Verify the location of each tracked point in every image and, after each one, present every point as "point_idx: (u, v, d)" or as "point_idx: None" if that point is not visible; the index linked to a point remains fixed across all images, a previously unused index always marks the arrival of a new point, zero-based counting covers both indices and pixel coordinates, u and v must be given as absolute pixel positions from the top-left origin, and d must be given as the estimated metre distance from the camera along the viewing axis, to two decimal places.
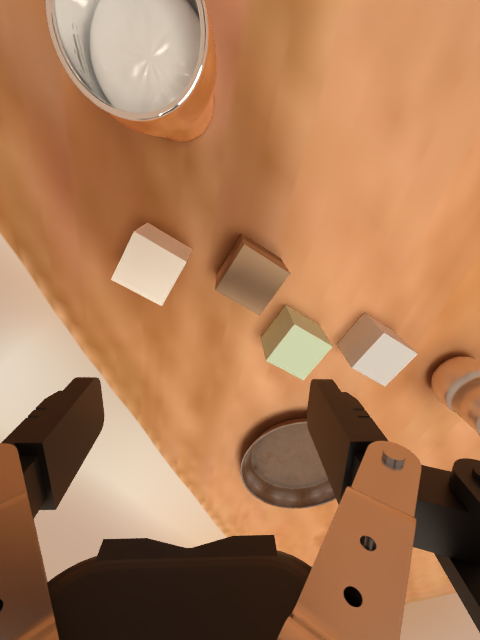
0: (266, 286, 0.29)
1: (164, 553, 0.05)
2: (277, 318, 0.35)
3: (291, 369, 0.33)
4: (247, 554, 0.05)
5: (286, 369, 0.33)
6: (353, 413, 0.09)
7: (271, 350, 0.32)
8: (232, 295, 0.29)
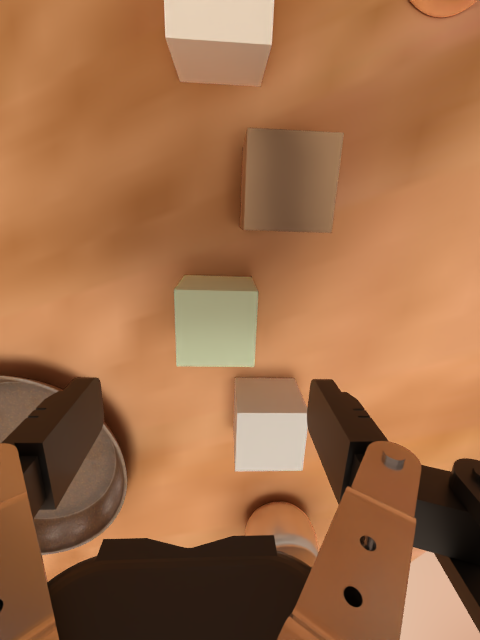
0: (295, 210, 0.17)
1: (164, 553, 0.05)
2: (228, 277, 0.22)
3: (183, 336, 0.19)
4: (247, 554, 0.05)
5: (178, 330, 0.19)
6: (353, 413, 0.09)
7: (193, 288, 0.19)
8: (255, 163, 0.16)
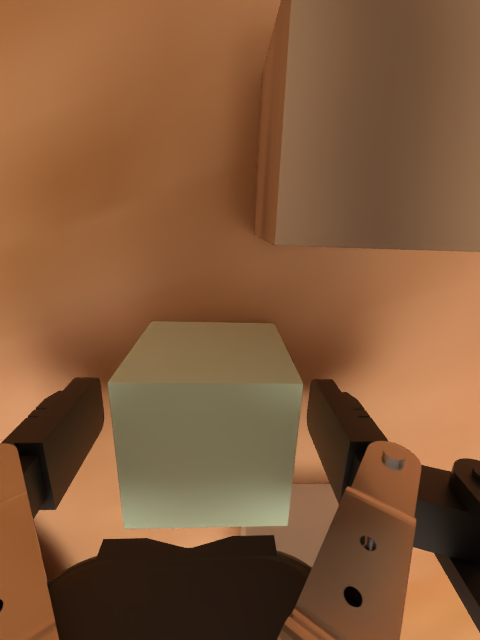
0: (407, 197, 0.07)
1: (164, 553, 0.05)
2: (232, 326, 0.12)
3: (136, 475, 0.09)
4: (247, 554, 0.05)
5: (123, 463, 0.09)
6: (353, 413, 0.09)
7: (156, 372, 0.08)
8: (311, 64, 0.06)
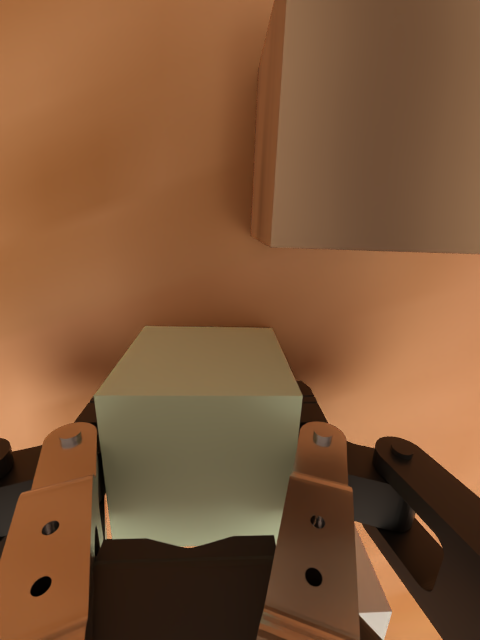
0: (410, 196, 0.06)
1: (164, 553, 0.05)
2: (228, 332, 0.12)
3: (125, 492, 0.08)
4: (247, 554, 0.05)
5: (112, 480, 0.08)
6: None
7: (146, 383, 0.08)
8: (308, 54, 0.05)
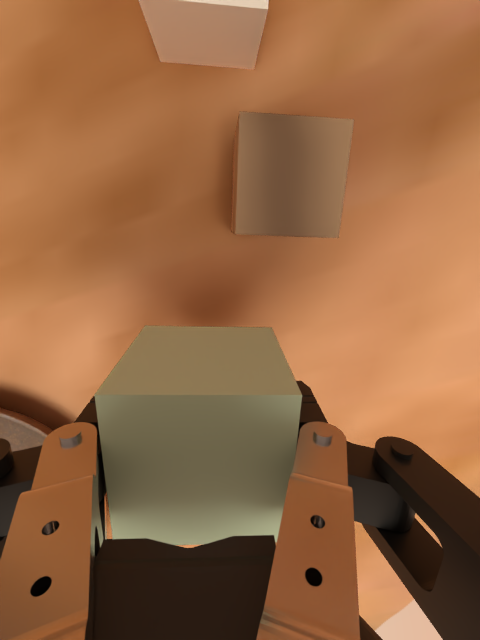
0: (296, 212, 0.14)
1: (164, 553, 0.05)
2: (228, 332, 0.12)
3: (126, 491, 0.08)
4: (247, 554, 0.05)
5: (112, 479, 0.08)
6: None
7: (146, 382, 0.08)
8: (248, 155, 0.13)
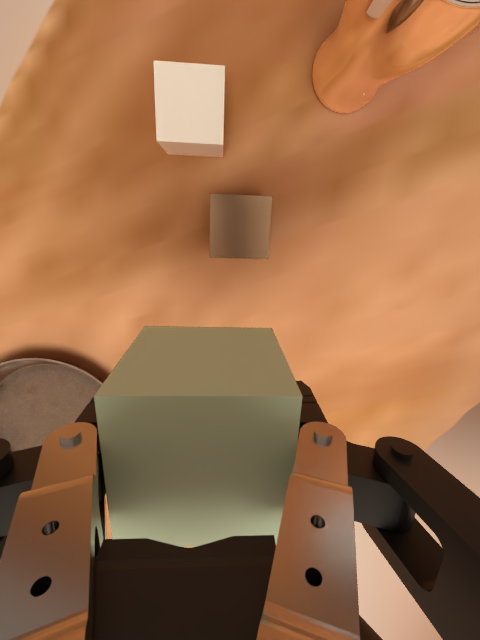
0: (243, 245, 0.26)
1: (164, 553, 0.05)
2: (228, 332, 0.12)
3: (125, 493, 0.08)
4: (247, 554, 0.05)
5: (112, 480, 0.08)
6: None
7: (146, 384, 0.08)
8: (215, 215, 0.25)
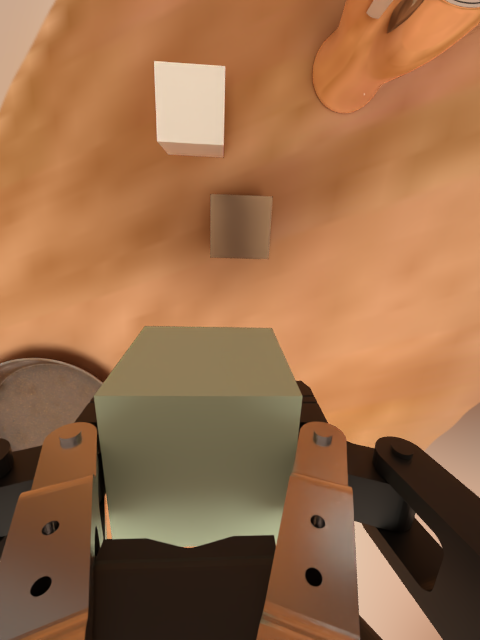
0: (244, 245, 0.26)
1: (164, 553, 0.05)
2: (228, 332, 0.12)
3: (125, 493, 0.08)
4: (247, 554, 0.05)
5: (112, 480, 0.08)
6: None
7: (146, 384, 0.08)
8: (216, 215, 0.25)
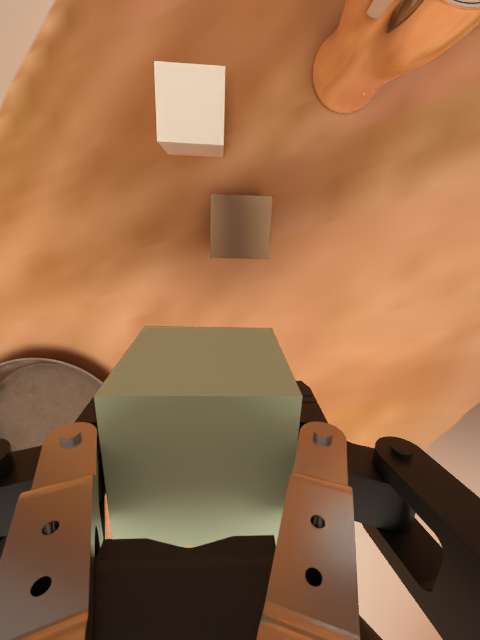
0: (244, 245, 0.26)
1: (164, 553, 0.05)
2: (228, 332, 0.12)
3: (125, 493, 0.08)
4: (247, 554, 0.05)
5: (112, 480, 0.08)
6: None
7: (146, 384, 0.08)
8: (216, 215, 0.25)
